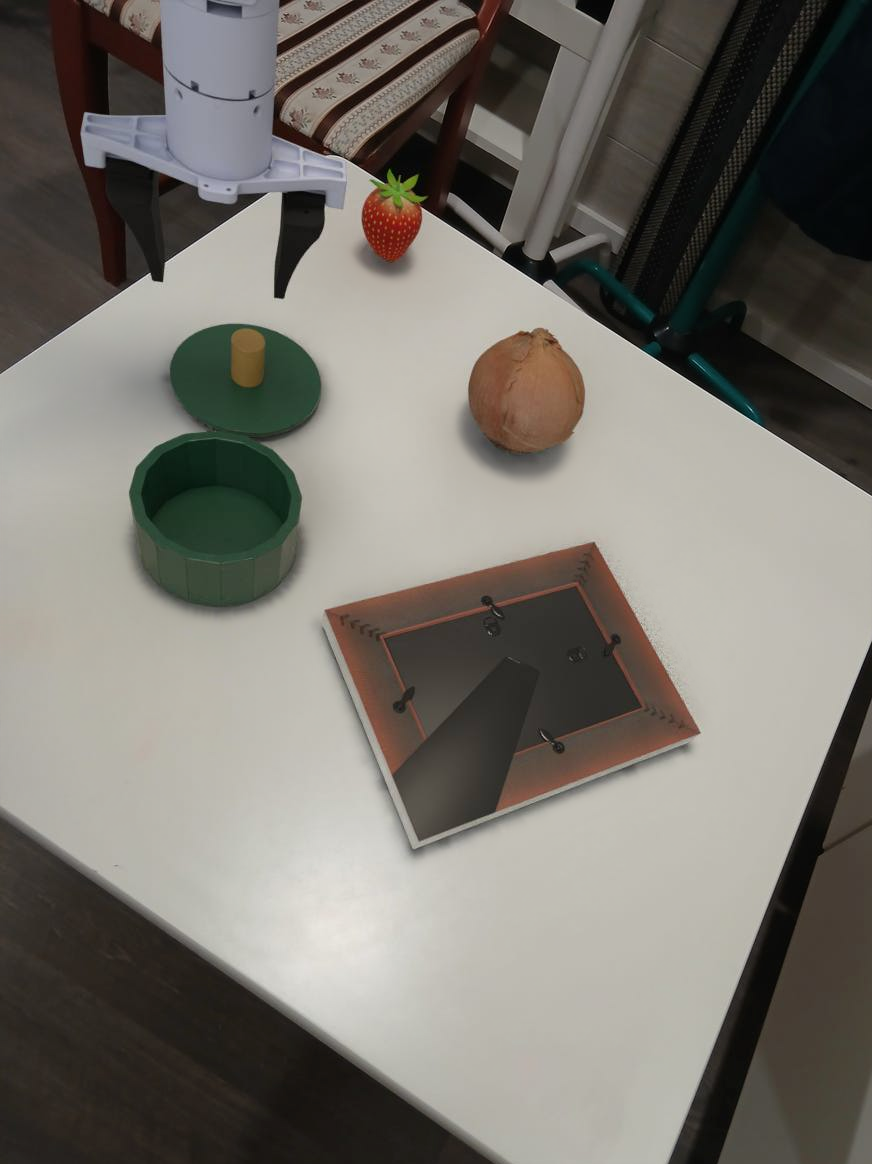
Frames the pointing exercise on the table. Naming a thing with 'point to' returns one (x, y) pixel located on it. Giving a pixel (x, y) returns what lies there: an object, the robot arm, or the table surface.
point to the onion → (526, 392)
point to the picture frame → (504, 688)
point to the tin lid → (245, 380)
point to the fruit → (392, 217)
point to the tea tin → (215, 517)
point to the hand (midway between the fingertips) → (220, 280)
